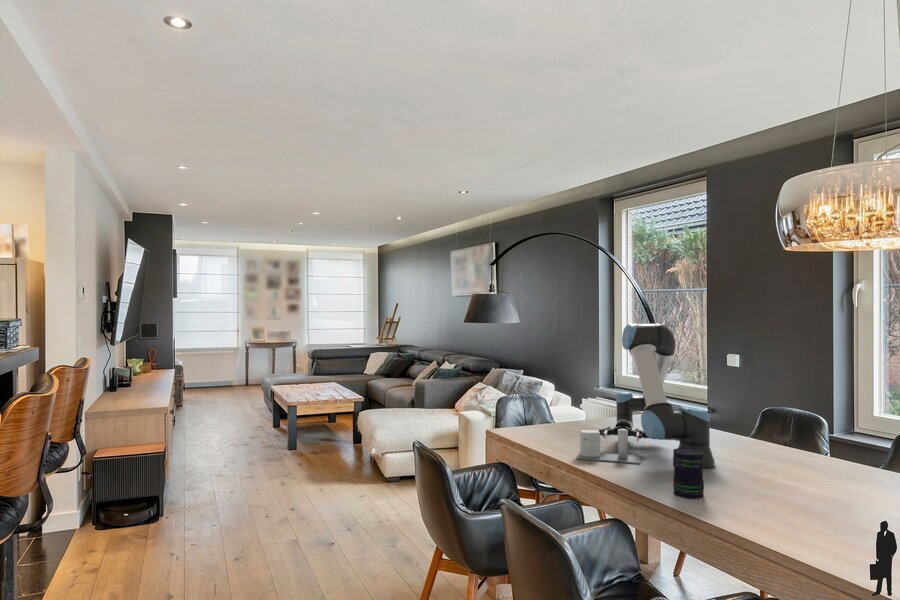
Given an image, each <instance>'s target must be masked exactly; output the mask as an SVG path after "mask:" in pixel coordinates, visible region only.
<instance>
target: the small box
mask: <svg viewBox="0 0 900 600" xmlns="http://www.w3.org/2000/svg"><path fill="white" fill-rule="evenodd" d="M579 436H580V437H579V438H580V439H579V441H580V442H579V445H580V447H579V449H580V453H581V455H582V457H600V453H601V435H600V432H599V429H595V430H593V429H580V430H579Z"/></svg>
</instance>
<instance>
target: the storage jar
mask: <svg viewBox="0 0 900 600" xmlns="http://www.w3.org/2000/svg"><path fill="white" fill-rule="evenodd" d="M672 450H673V451H672V452H673V455H672V461H673V462H672V466H673V477H672V478H673V479H672V480H673V481H672V485H673V495H674V496H676V497H678V498H682V499H685V500H687V499H688V500H700V498H701V499H703V498H704V497H705V496H704V495H705V494H704V492H705V491H704V490H705V486H704V485H705V484H704V483H705V482H704V477H703V476H704V475H703V473H704V471H703V470H704V468H703V467H704V466H703V464H704V460H703V452H702V451H700V450H696V449H690V448H678V447H677V448H673V449H672Z"/></svg>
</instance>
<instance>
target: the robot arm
mask: <svg viewBox="0 0 900 600" xmlns="http://www.w3.org/2000/svg"><path fill="white" fill-rule="evenodd" d="M621 335H622V336H621V337H622V338H621V344H622V347H623V349H624V350H626V351H629V355H630V356H631V357H633V358H634V362H635V366H636V369H637V374H638V378H639V382H640V385H641V389H642V394H643V395H633V392H631V391H618V392H617V394H616V401H615V402H616V403H615V404H616V424H615V426H614V427H613V428H612V427H611V426H606V427H604V428H599V429H598V431H599V432H600V436H602V437H603V438H604V440H607V438H608V436H612V435H613V436H618V429H626V430H628V437H635V438H636V442H639V440H641V439H646V438H648V437H649V439H651V440H658V441H660V440H661V441H662V440H674V439H679V442H678V443H679V445H678V447H677V448H690V449H696V450H700V451H702V452H703V460H704V464H703V466H704V467H703V469H711V468H713V467H715V465H716V463H715V458H714V456H713V451H712V449H711V446H710V444H711V443H710V442H711V440H710V439H711V438H710V436H711V435H710V433H711V432H710V423H711V420H710V414H709V412H708V411H707V410H704V409H702V408H697V407H692V406H684V405H682V406H681V405H680V406H679V407H678V410H674V408H673V404H672V403H671V402H668V401H667V397H666V393H665V389H664V383H665V378H666V375H667V373H668V367H669V364H670V361H671V357H672V356H673V355H674V354H675V351H676V338H675V336H674V334H673V332H672V331H671V329H670V328H668V326H666V325H664V324H661V323H636V322H635V323H628V324H626V326H625V327H624V328H623V332H622V334H621ZM634 412H635V413H636V412H642V413H641V415H640V419H641V421H640V423H641V428H642V430H640V429H639V428H638V427H637V428H634V429H633V427H634V420H633V418H634V417H633V415H634V414H633V413H634ZM643 431H644V432H643ZM646 435H647V436H648V437H646Z"/></svg>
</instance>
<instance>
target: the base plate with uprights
mask: <svg viewBox="0 0 900 600" xmlns="http://www.w3.org/2000/svg"><path fill="white" fill-rule="evenodd" d="M628 437H629V436H628V430H626V429H618V435H617V453H605V452H600V457H582V455H581V453H580V451H578V453H577V456H576V460H581V461H582V460H583V461H593V460H596V461H597V462H606V461H608V462H607V463H618V462H619V464H631V463H632V464H633V465H641V455H633V454H631V455H630V454H628V453H629V443H628V442H629V440H628ZM596 461H595V462H596Z"/></svg>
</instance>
